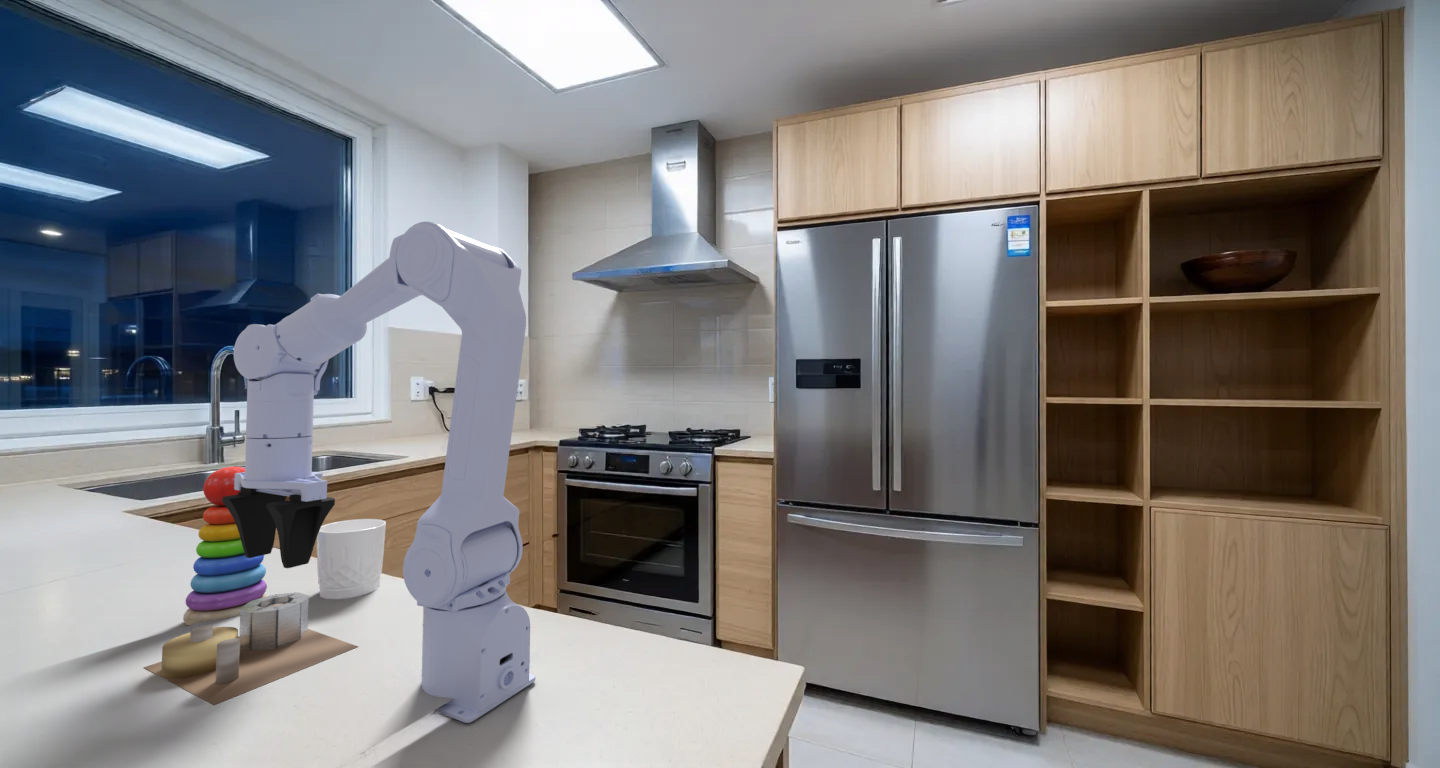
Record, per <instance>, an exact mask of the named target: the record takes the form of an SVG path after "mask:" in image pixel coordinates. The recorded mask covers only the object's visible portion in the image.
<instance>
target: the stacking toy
mask: <svg viewBox="0 0 1440 768" xmlns="http://www.w3.org/2000/svg"><path fill="white" fill-rule="evenodd" d="M242 472H245V467H242V466H226V467H222V468H219V469H217V470H215V471H213V472H212V473H211V474H210V475H209V476H208V477H207V478H206V480H205V481H204V484H203V494H204V497H205V498H206V500H207V501H208V502H209V503H211V504H212V505H214V506H210V507H208V508H206V510H204V512H203V515H202V519H203V521H205V523H207V524H204V525H203V526H202V527H201V528H199V531H198V537H199V539H200V540H202V541H201V542H199V543H198V545H197V546H196V549H195V552H196V554H197V556H199V557H198V558H197V559H196V560H195V561H194V563H193V567H192V568H193V571H194V572H195V575H194V576H193V577H192V578H191V580H190V588H191V590H192V591H190V592H189V593H188V595H187V596H186V598H185V605H186V607H187V609H186V611H185V612H184V613H183V618H182V620H183V622H184V623H185V624H186V625H187V626H192V625H195V624H199V623H203V622H206V621H207V622H208V621H217V620H222V619H227V618H234V617H236V616H240V608H242V607H243V606H244V605H246V604H247V603H248V602H251V601H253V600H256V599H260V598H263V597H267V596H268V595H267V594H266V592H267V588H268V585H267V582H266V581H265V580H264V579H263V578H264V577H265V575H266V573H267V569H266V566H265V565H264V564H262V563H263V561H264V558H265V555H262V556H257V557H253V558H246V555H245V553H244V549H243V546H242V542H241V538H240V535H239V531H238V528H237V525H236V523H235V521H234V519H233V517H232V515H231V513H230V512H229V510H228V509H227V507H226V506H225V505H224V503H223V502H222V498H223V497H225V496H231V495H238V492H241V490H235V489H234V484H235V473H242Z"/></svg>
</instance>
